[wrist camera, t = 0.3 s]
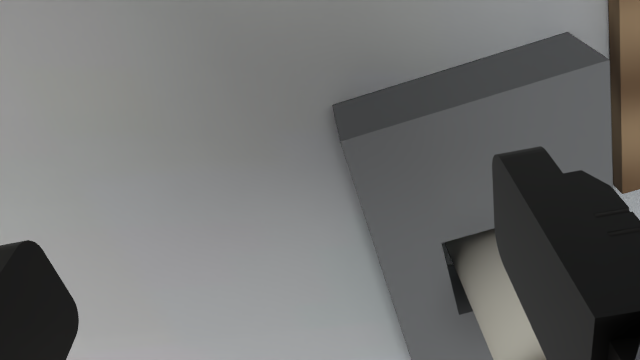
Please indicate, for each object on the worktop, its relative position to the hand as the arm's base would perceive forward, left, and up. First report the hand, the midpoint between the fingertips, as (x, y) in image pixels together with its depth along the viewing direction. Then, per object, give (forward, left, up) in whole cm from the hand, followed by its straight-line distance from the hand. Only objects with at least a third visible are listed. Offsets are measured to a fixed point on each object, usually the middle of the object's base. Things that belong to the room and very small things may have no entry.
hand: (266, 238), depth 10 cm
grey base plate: (+16, +7, -18) cm, 25 cm away
